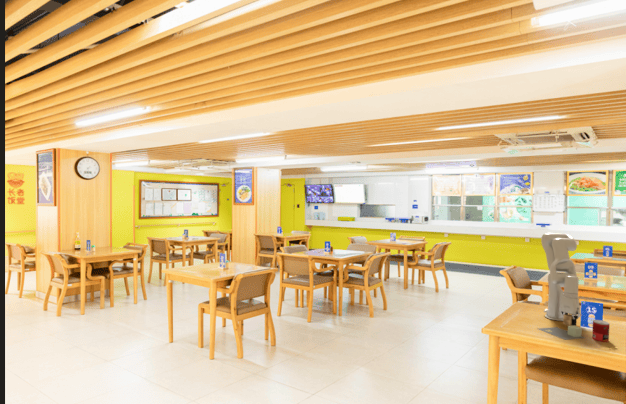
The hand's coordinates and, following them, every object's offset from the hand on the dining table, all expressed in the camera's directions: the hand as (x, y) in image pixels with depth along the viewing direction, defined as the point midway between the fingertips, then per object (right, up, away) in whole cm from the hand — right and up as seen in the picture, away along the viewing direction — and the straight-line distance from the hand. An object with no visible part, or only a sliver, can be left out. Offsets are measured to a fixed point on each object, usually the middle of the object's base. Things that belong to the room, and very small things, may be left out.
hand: (569, 323), depth 257 cm
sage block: (-6, -3, -14) cm, 16 cm away
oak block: (0, -1, 0) cm, 1 cm away
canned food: (+5, -4, -20) cm, 21 cm away
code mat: (-12, -3, -11) cm, 17 cm away
